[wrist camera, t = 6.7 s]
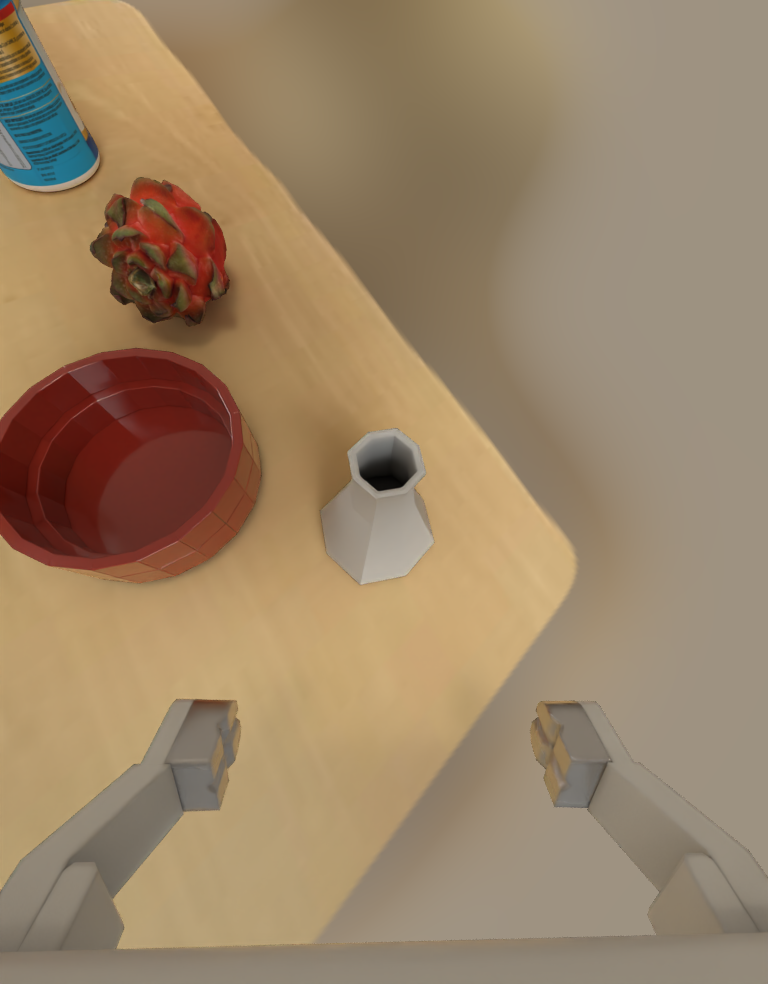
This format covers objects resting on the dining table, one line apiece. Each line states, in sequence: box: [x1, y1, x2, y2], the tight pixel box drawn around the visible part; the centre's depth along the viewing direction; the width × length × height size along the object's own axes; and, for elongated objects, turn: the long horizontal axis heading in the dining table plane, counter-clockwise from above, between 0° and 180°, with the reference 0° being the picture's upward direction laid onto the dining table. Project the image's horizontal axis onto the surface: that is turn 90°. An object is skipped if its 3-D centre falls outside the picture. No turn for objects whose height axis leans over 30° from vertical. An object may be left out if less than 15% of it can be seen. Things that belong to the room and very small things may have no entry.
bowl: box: [0, 348, 261, 583], centre depth 24 cm, size 13×13×5 cm
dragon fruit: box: [90, 177, 230, 327], centre depth 28 cm, size 8×8×12 cm
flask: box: [320, 428, 434, 585], centre depth 21 cm, size 7×7×10 cm
